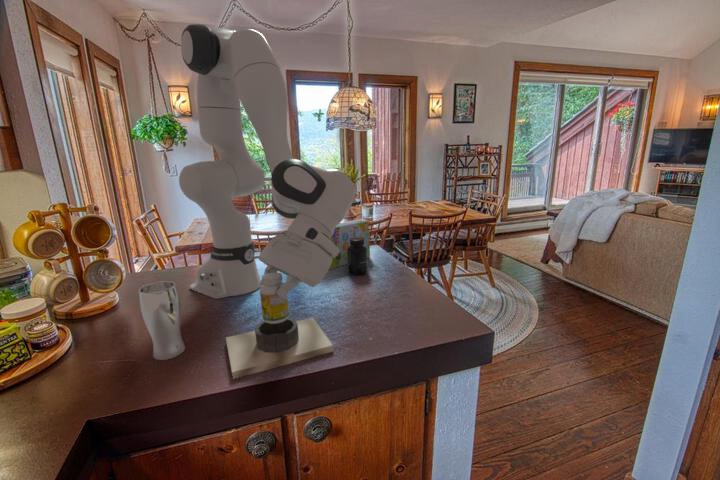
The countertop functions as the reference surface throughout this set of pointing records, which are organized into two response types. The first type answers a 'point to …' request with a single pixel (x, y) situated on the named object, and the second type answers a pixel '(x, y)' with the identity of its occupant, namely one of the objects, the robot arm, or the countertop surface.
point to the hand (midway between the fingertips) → (270, 291)
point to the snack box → (343, 237)
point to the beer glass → (162, 318)
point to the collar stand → (276, 346)
